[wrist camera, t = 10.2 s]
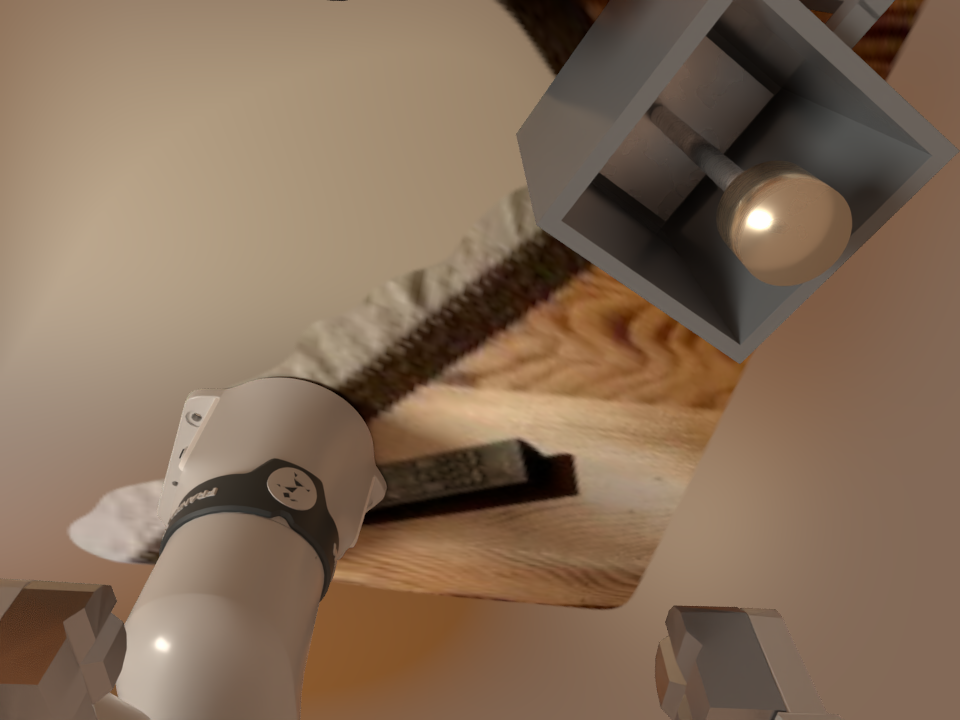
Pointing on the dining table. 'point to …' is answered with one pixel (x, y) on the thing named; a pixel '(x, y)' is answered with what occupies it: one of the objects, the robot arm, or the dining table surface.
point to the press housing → (769, 137)
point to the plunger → (731, 172)
